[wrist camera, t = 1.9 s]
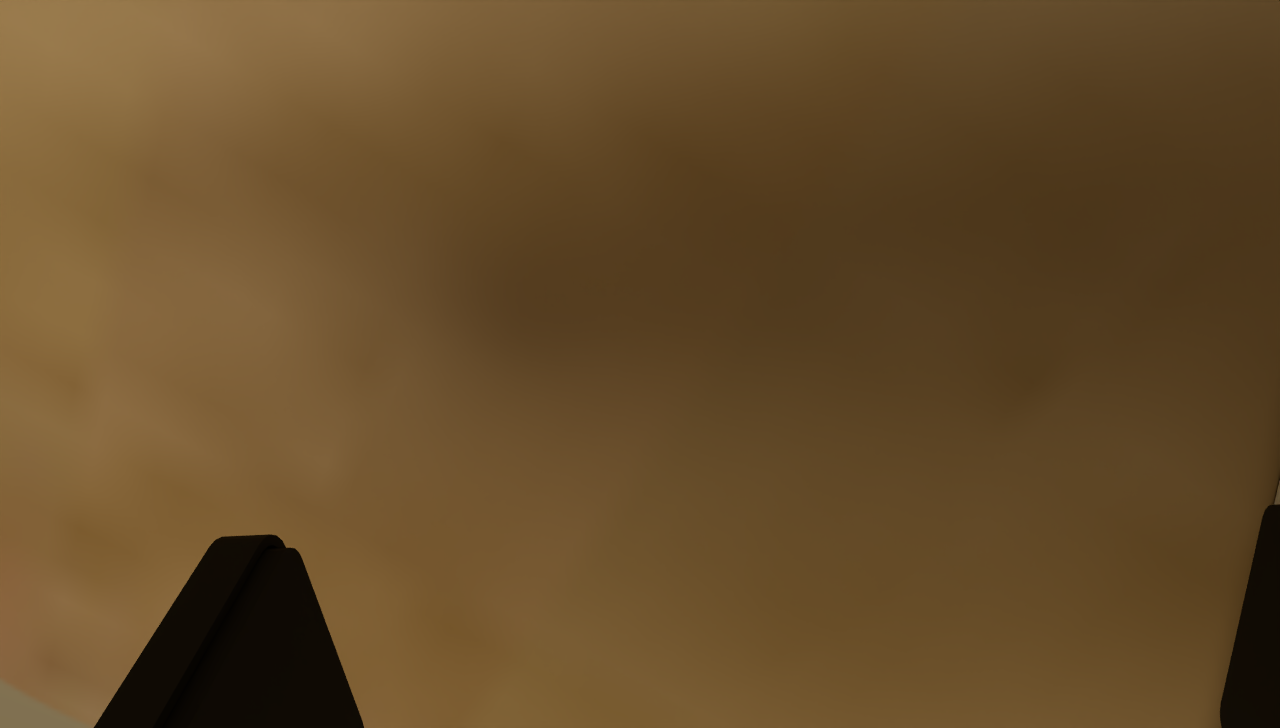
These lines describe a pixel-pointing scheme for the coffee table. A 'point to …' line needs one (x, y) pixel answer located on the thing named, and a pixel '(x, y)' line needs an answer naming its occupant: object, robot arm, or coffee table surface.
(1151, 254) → the coffee table surface
